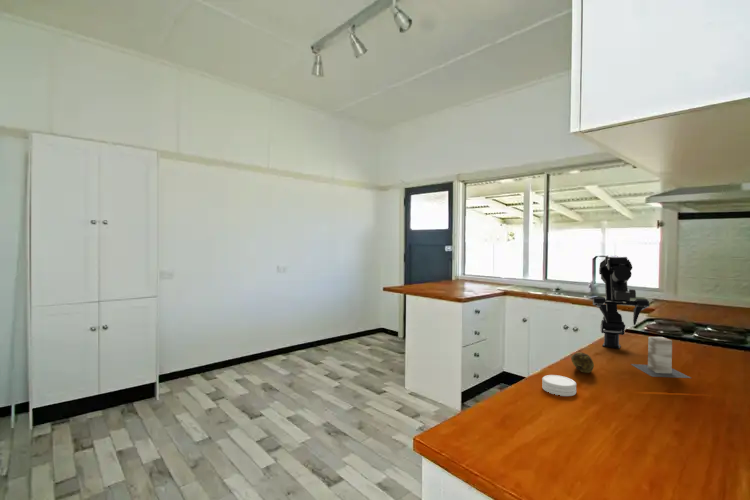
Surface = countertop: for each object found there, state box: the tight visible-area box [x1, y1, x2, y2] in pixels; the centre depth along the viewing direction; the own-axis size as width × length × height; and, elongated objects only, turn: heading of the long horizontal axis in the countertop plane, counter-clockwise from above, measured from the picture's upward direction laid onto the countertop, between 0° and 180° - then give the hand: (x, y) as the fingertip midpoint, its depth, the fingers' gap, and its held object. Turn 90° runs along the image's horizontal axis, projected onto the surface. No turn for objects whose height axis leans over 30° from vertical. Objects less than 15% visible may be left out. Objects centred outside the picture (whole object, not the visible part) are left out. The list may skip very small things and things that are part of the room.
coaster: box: [541, 374, 577, 397], centre depth 118 cm, size 10×10×4 cm
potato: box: [571, 351, 595, 374], centre depth 133 cm, size 8×13×8 cm, turn 133°
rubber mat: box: [630, 363, 692, 379], centre depth 133 cm, size 13×13×1 cm
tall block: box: [647, 336, 673, 373], centre depth 133 cm, size 5×5×12 cm
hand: (620, 323), depth 146 cm, fingers open, 9 cm apart
